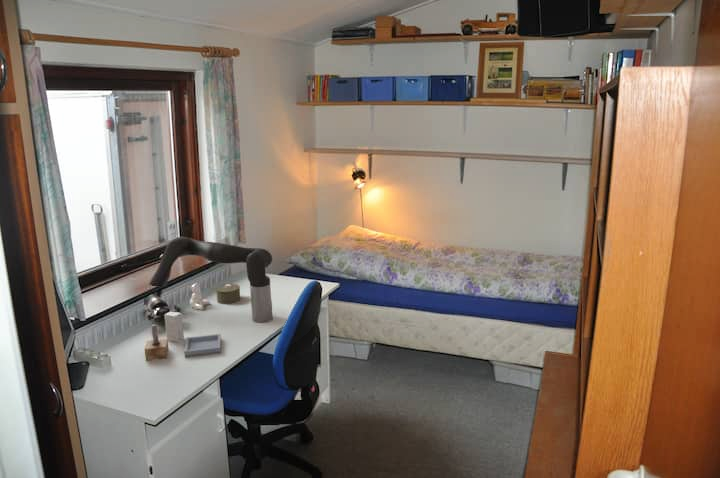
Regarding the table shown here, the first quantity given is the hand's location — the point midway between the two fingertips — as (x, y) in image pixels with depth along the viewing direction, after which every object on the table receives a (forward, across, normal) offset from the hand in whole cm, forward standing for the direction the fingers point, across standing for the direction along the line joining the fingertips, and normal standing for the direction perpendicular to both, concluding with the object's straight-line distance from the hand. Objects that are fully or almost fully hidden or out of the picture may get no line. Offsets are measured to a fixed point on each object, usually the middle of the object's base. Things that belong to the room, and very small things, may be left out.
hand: (167, 317), depth 251 cm
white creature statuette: (-22, +20, +7) cm, 31 cm away
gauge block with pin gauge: (+22, -10, +6) cm, 25 cm away
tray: (+26, +7, +6) cm, 28 cm away
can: (-22, +36, +7) cm, 43 cm away
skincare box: (+11, 0, +7) cm, 13 cm away
